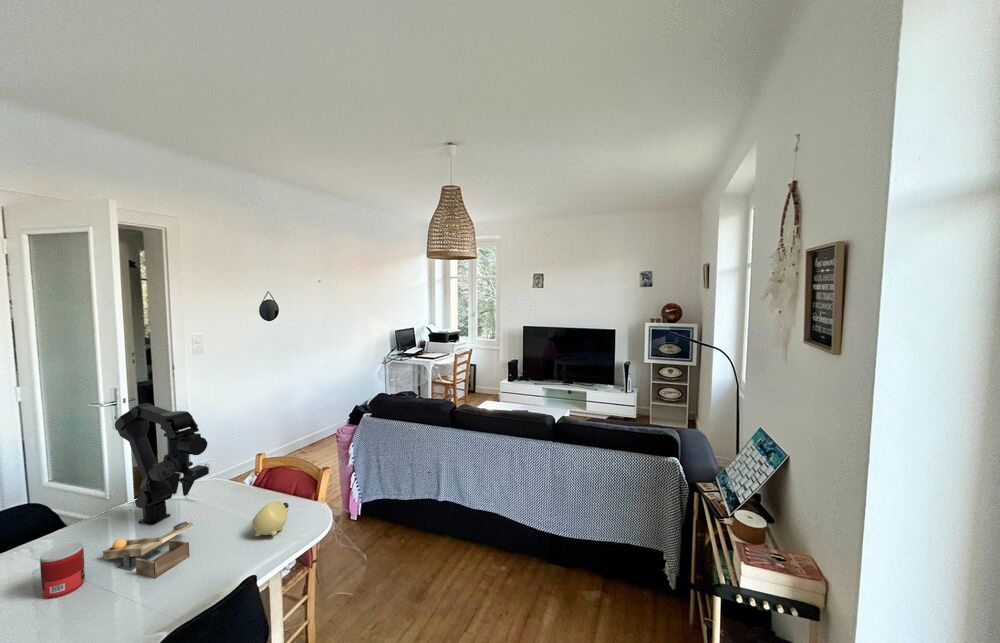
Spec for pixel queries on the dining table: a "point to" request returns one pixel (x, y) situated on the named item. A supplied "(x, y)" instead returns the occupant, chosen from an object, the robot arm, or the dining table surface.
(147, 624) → the dining table surface
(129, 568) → the fulcrum
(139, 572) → the tray
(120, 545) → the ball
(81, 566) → the canned food
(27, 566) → the dining table surface
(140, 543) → the lever
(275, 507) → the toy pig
